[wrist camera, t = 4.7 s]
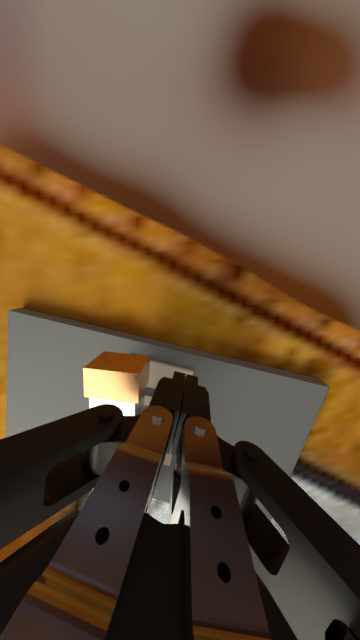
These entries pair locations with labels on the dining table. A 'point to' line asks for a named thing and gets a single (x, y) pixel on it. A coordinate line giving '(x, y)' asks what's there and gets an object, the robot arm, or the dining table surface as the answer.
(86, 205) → the dining table surface
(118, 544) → the robot arm
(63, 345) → the panel
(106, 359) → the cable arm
